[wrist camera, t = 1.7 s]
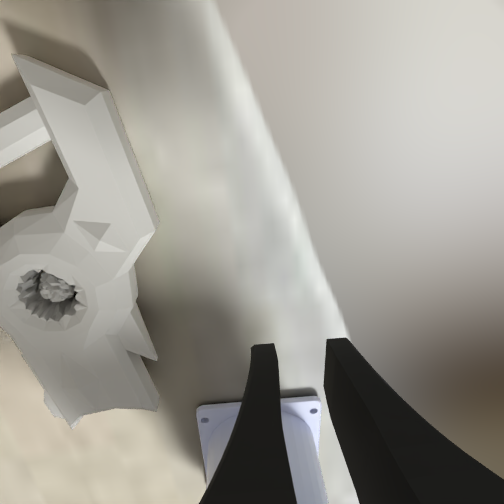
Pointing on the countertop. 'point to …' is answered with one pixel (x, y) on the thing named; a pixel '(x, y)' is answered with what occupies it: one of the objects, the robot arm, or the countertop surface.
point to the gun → (77, 250)
